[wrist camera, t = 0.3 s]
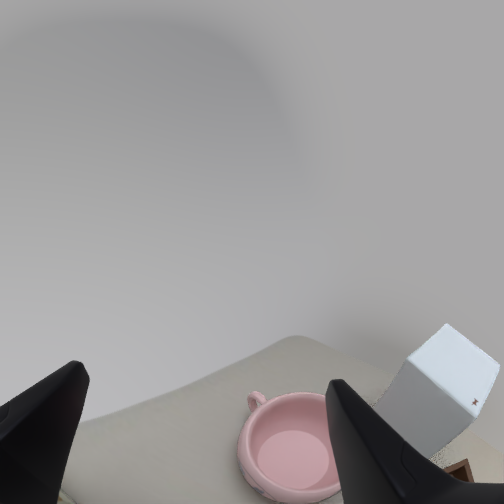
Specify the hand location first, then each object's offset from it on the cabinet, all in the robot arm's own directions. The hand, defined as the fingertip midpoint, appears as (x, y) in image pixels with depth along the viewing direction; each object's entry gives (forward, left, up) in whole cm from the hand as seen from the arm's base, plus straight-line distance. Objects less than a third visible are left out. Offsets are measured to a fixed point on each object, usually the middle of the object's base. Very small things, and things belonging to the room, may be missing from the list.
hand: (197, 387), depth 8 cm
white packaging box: (+4, -17, -17) cm, 24 cm away
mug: (+4, -6, -17) cm, 18 cm away
